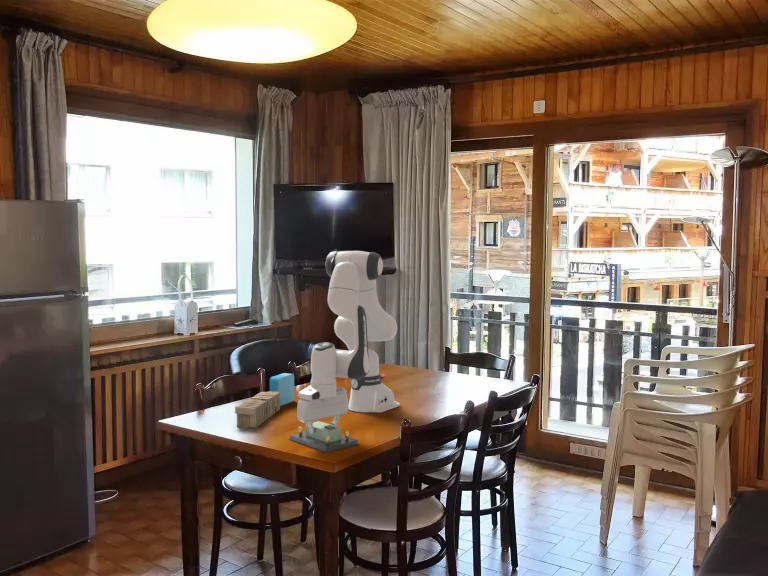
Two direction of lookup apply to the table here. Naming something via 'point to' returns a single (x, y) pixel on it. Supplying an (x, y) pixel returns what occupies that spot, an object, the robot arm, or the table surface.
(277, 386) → the data package
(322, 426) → the pale green block
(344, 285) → the robot arm
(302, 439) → the plate
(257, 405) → the block tower
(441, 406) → the table surface
